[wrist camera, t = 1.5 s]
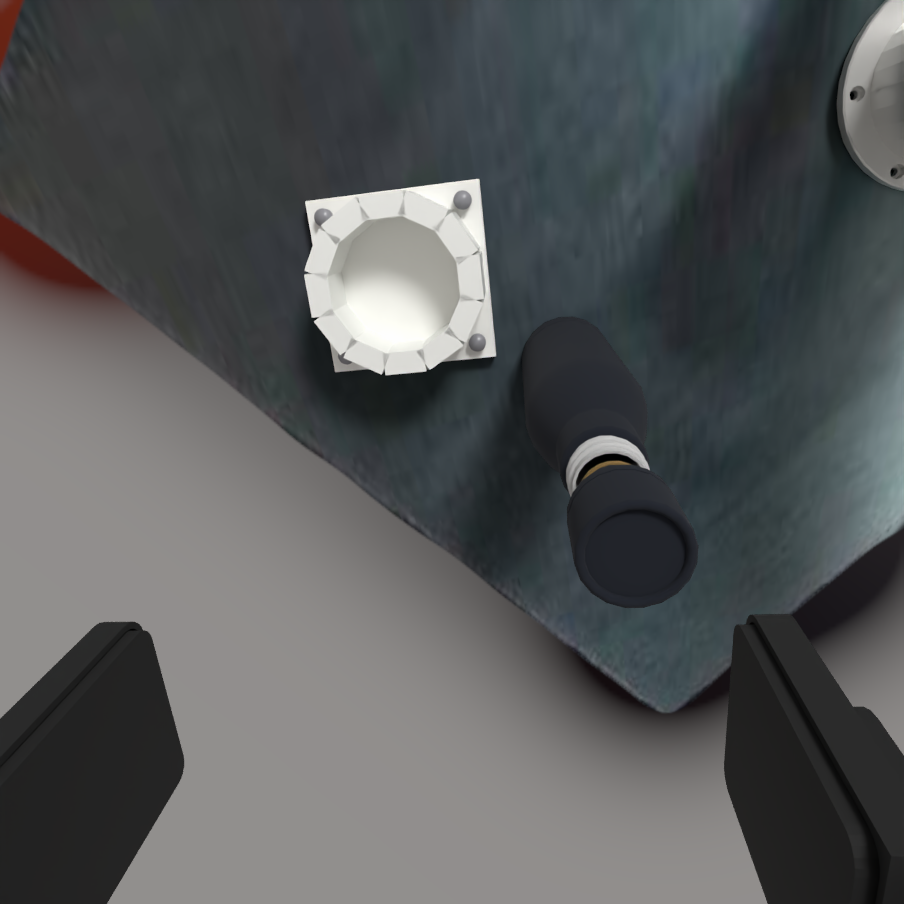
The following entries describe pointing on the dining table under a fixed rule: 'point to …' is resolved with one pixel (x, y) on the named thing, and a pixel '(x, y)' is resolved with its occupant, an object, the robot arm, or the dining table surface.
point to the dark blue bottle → (604, 466)
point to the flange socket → (401, 277)
